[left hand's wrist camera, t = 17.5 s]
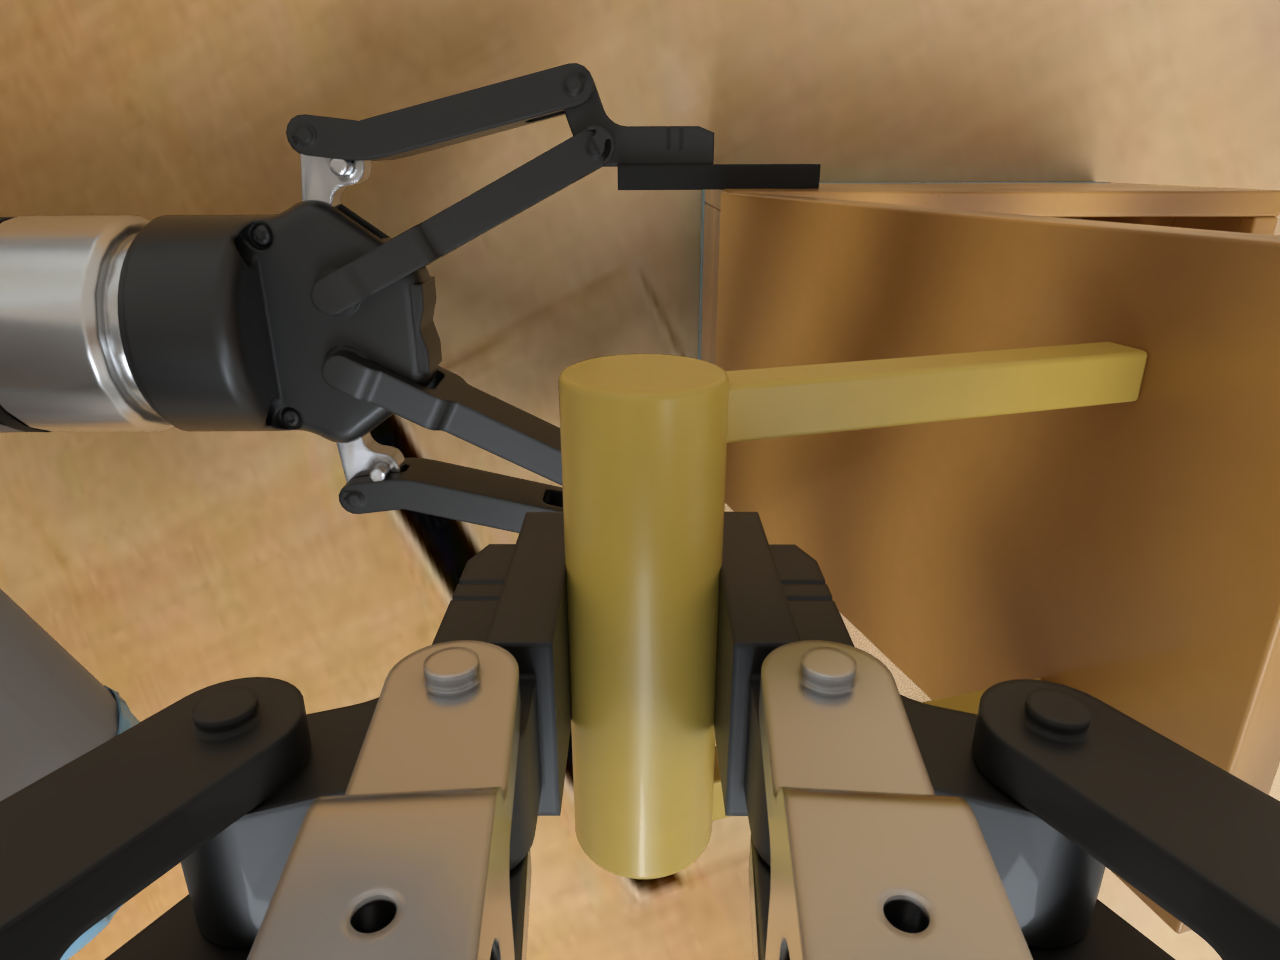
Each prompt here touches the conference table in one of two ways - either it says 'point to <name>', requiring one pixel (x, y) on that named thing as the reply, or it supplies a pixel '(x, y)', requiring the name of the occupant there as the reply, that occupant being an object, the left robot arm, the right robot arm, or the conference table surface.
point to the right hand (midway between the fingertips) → (800, 322)
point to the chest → (1024, 198)
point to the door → (934, 486)
